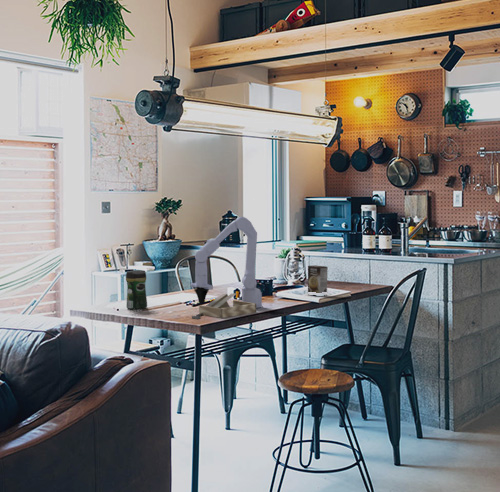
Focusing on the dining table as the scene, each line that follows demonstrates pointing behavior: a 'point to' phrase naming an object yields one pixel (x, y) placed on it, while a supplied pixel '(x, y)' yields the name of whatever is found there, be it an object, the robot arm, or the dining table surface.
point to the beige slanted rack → (221, 301)
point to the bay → (229, 309)
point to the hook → (197, 316)
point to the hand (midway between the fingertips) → (201, 303)
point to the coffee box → (317, 279)
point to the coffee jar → (136, 289)
